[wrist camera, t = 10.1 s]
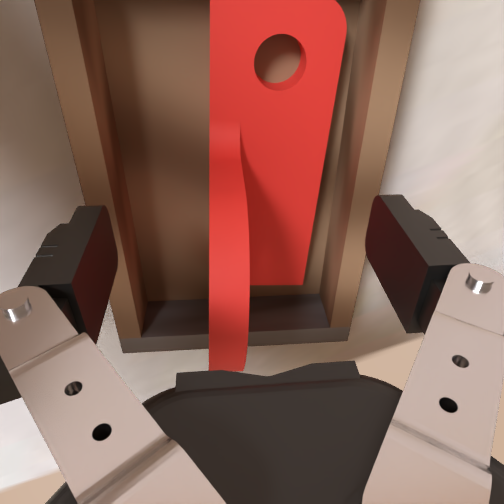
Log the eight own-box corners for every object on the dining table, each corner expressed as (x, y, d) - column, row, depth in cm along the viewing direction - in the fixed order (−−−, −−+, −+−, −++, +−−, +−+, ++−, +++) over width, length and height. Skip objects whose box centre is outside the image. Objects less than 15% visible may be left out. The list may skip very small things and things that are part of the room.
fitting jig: (44, -106, 12) (3, -121, 10) (400, -97, 13) (443, -108, 11) (132, 309, 22) (122, 353, 20) (332, 300, 23) (347, 340, 21)
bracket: (298, 270, 21) (337, 409, 15) (208, 270, 21) (208, 413, 14) (343, -8, 14) (456, 24, 8) (210, -17, 14) (210, 8, 7)
